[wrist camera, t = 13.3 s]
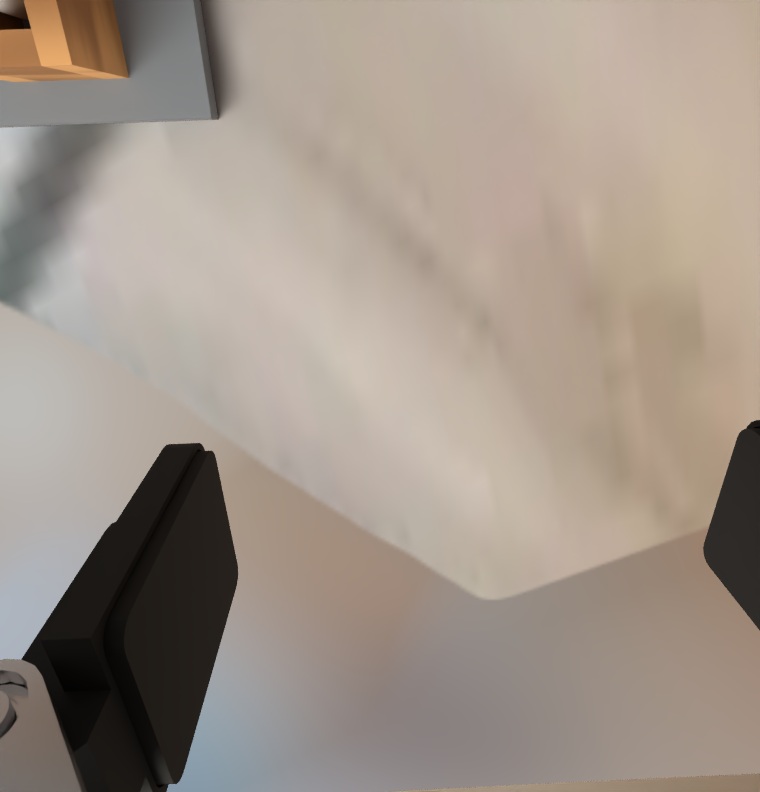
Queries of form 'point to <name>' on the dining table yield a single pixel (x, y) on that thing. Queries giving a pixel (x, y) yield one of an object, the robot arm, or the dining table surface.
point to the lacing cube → (62, 42)
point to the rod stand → (147, 68)
